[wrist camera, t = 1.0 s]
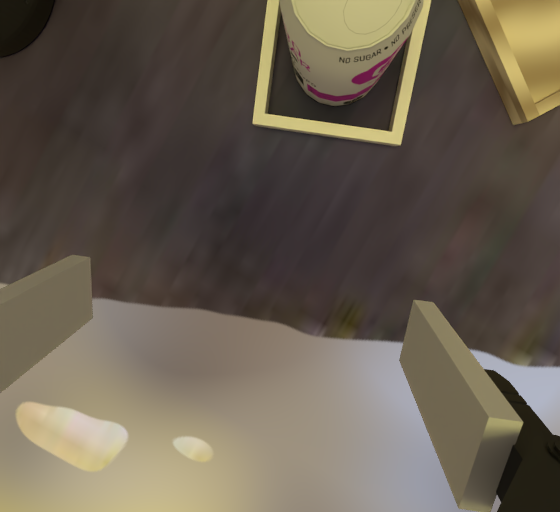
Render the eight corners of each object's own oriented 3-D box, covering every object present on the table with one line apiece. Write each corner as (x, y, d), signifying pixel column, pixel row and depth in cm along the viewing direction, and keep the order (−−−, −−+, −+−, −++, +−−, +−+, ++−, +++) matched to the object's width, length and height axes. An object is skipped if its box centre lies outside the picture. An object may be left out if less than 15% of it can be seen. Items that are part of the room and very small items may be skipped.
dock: (255, 126, 37) (244, 117, 31) (275, -33, 33) (267, -77, 28) (396, 146, 36) (411, 141, 30) (429, -15, 33) (454, -55, 27)
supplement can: (402, 55, 34) (468, -32, 20) (337, 126, 36) (352, 95, 21) (338, -12, 33) (356, -154, 19) (274, 64, 35) (246, -12, 21)
